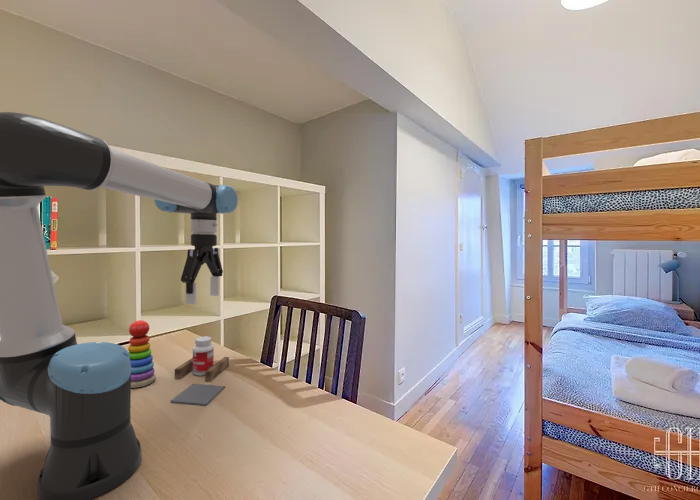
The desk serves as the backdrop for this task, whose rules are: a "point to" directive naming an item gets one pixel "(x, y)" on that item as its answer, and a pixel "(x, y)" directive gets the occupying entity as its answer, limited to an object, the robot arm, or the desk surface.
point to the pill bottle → (202, 355)
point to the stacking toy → (140, 355)
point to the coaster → (198, 394)
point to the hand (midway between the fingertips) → (203, 299)
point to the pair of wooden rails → (209, 374)
